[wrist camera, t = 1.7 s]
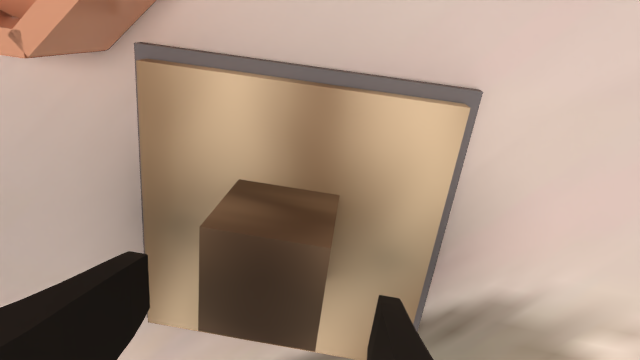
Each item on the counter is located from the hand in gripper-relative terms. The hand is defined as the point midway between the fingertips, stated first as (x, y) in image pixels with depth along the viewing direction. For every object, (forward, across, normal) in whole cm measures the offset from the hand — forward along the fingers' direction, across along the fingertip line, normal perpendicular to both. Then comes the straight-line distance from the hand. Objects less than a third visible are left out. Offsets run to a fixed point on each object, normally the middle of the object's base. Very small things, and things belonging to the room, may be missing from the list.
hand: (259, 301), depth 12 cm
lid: (+5, 0, 0) cm, 5 cm away
